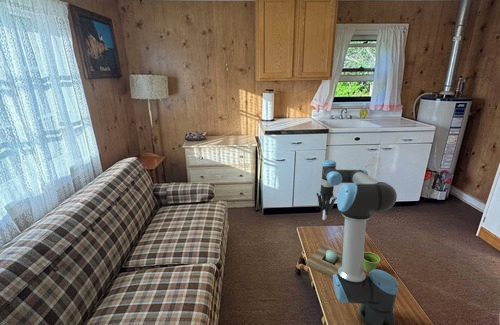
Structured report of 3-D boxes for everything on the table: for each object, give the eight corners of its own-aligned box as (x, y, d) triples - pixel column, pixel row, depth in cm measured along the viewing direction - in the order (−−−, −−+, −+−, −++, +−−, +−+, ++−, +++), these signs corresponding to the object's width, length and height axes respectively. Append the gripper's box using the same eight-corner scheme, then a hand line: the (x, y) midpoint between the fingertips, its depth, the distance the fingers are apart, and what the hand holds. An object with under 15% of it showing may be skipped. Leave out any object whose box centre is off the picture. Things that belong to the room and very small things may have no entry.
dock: (339, 282, 144) (340, 276, 143) (306, 265, 157) (307, 260, 155) (353, 262, 159) (354, 257, 157) (322, 249, 171) (322, 244, 170)
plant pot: (379, 276, 148) (382, 263, 145) (361, 274, 150) (363, 261, 147) (375, 265, 156) (377, 253, 154) (358, 263, 158) (360, 251, 155)
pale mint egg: (333, 265, 153) (334, 257, 151) (323, 260, 156) (324, 253, 155) (337, 259, 157) (338, 252, 155) (328, 255, 161) (328, 248, 159)
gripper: (340, 186, 161) (336, 220, 168) (320, 180, 169) (318, 213, 177) (334, 189, 155) (331, 224, 163) (314, 184, 164) (312, 217, 171)
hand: (324, 218), depth 170 cm, fingers closed
